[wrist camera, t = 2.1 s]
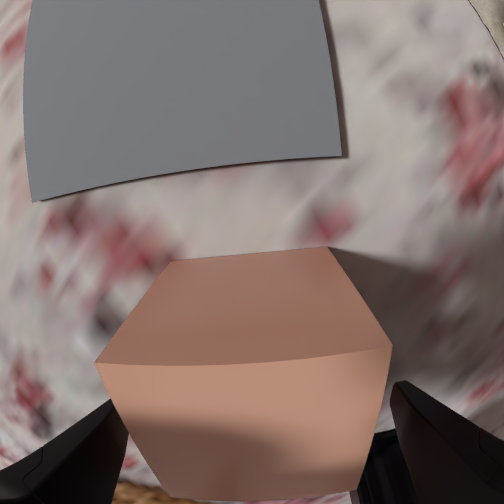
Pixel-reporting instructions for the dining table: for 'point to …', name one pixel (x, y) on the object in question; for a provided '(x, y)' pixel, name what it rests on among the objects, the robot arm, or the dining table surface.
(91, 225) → the dining table surface
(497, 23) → the condiment
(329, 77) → the grey panel
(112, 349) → the salmon cube
